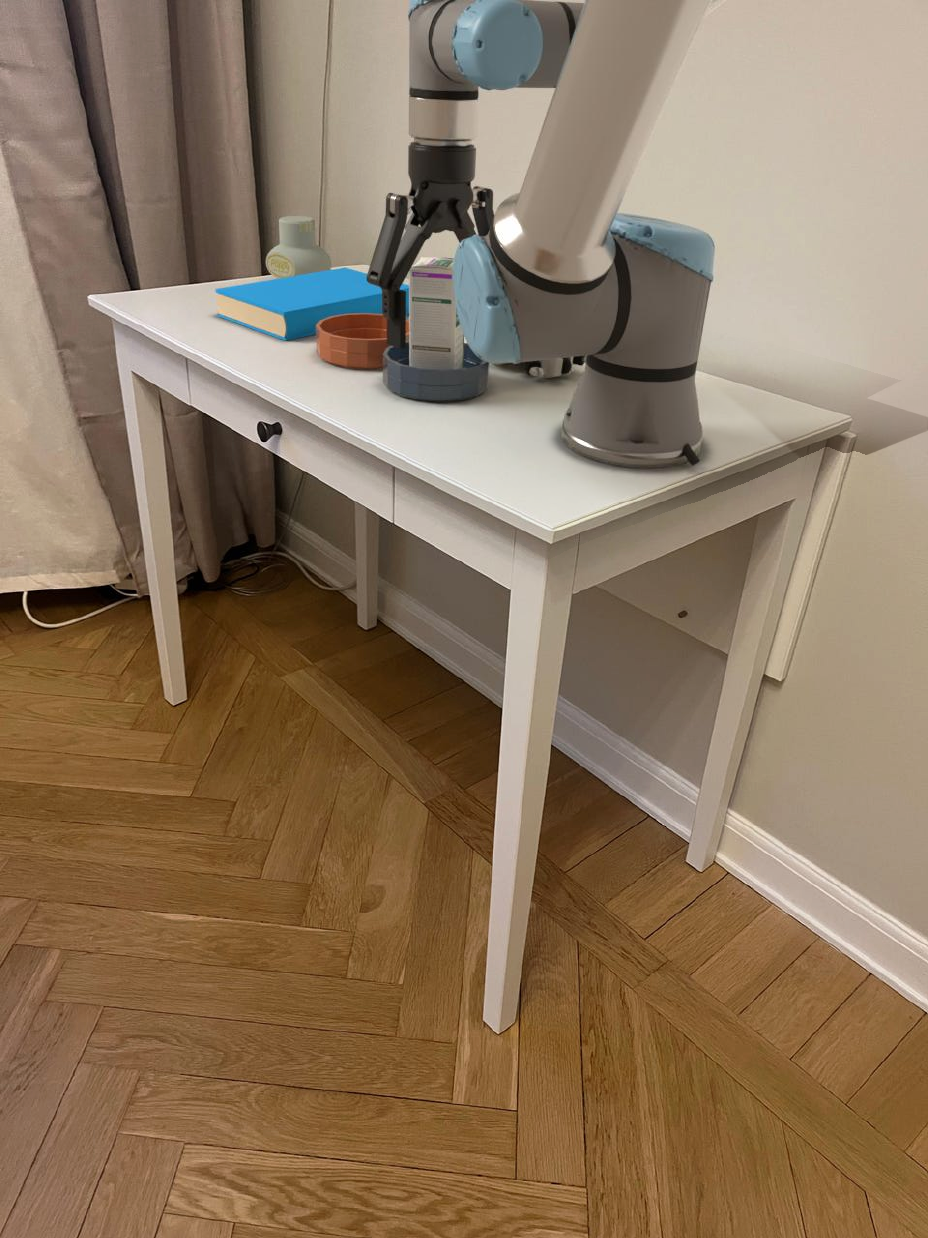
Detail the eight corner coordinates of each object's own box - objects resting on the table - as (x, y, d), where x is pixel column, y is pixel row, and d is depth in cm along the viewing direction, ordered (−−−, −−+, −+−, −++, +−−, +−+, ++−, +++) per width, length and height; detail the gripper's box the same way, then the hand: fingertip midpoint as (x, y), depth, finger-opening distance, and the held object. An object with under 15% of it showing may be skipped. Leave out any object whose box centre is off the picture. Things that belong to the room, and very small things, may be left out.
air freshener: (259, 279, 167) (255, 216, 162) (296, 272, 173) (293, 211, 168) (303, 290, 162) (300, 226, 156) (339, 283, 167) (338, 220, 162)
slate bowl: (509, 390, 122) (511, 359, 120) (427, 410, 115) (427, 377, 113) (443, 364, 131) (444, 333, 129) (363, 380, 123) (362, 349, 121)
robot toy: (599, 381, 130) (524, 344, 139) (605, 347, 127) (528, 312, 136) (531, 397, 123) (457, 358, 132) (535, 362, 120) (459, 324, 130)
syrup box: (454, 392, 120) (458, 268, 112) (407, 387, 121) (408, 264, 113) (463, 378, 125) (468, 258, 117) (418, 373, 126) (420, 254, 118)
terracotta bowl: (434, 360, 132) (435, 330, 130) (354, 376, 125) (353, 345, 123) (377, 337, 140) (377, 308, 138) (299, 351, 133) (297, 321, 131)
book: (213, 289, 144) (343, 264, 160) (216, 318, 146) (344, 291, 162) (287, 313, 134) (417, 284, 150) (289, 344, 137) (417, 313, 153)
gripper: (501, 134, 118) (491, 317, 129) (331, 141, 104) (337, 345, 115) (544, 141, 113) (530, 331, 124) (373, 149, 99) (374, 361, 111)
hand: (437, 338), depth 120 cm, fingers open, 12 cm apart
